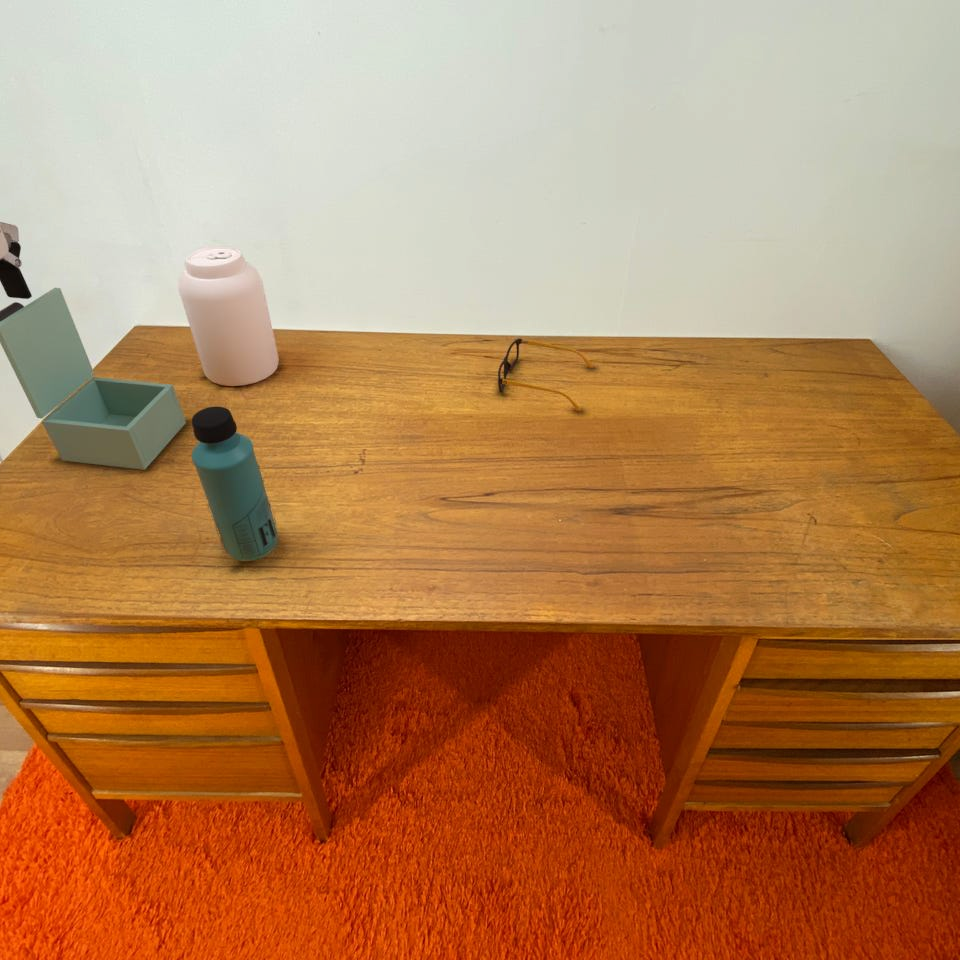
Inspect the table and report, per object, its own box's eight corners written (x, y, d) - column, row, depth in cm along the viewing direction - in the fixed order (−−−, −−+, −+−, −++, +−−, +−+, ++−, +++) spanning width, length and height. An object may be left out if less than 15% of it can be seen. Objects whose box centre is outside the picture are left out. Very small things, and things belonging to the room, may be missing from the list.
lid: (60, 288, 86) (20, 283, 86) (-2, 327, 77) (-47, 322, 77) (94, 374, 94) (58, 369, 95) (42, 418, 86) (2, 413, 86)
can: (264, 344, 117) (239, 233, 104) (291, 373, 109) (268, 258, 96) (194, 363, 111) (159, 249, 98) (218, 396, 103) (183, 276, 90)
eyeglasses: (512, 356, 115) (513, 336, 112) (592, 368, 112) (595, 347, 109) (492, 398, 104) (493, 376, 102) (580, 412, 101) (583, 391, 99)
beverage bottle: (274, 572, 75) (234, 434, 62) (218, 570, 75) (166, 432, 62) (288, 532, 80) (253, 397, 67) (235, 531, 80) (190, 396, 67)
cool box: (186, 422, 98) (173, 384, 93) (144, 470, 89) (128, 430, 84) (110, 414, 99) (93, 376, 95) (61, 460, 90) (41, 421, 86)
